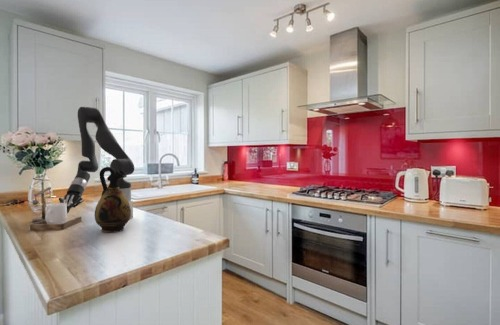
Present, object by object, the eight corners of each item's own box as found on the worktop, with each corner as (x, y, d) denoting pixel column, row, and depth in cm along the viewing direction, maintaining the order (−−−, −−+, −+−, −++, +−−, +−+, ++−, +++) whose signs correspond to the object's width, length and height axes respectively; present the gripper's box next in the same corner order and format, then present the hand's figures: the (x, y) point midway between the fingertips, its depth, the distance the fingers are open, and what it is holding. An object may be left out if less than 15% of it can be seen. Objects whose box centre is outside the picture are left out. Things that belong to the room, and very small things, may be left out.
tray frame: (81, 221, 140) (81, 216, 140) (63, 229, 125) (62, 224, 125) (52, 221, 139) (52, 217, 139) (30, 230, 124) (30, 224, 124)
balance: (59, 216, 151) (58, 186, 151) (38, 223, 135) (37, 190, 134) (48, 216, 151) (47, 186, 150) (26, 223, 135) (25, 190, 134)
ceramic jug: (137, 225, 132) (135, 166, 131) (121, 234, 117) (119, 167, 116) (103, 225, 132) (102, 166, 131) (83, 234, 117) (82, 167, 116)
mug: (55, 228, 126) (54, 207, 126) (37, 229, 126) (36, 207, 125) (70, 222, 138) (70, 202, 138) (54, 222, 138) (54, 203, 137)
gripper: (62, 183, 147) (47, 209, 136) (86, 183, 148) (74, 209, 136) (68, 191, 153) (54, 217, 141) (92, 191, 154) (80, 217, 142)
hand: (64, 213), depth 139 cm, fingers closed
